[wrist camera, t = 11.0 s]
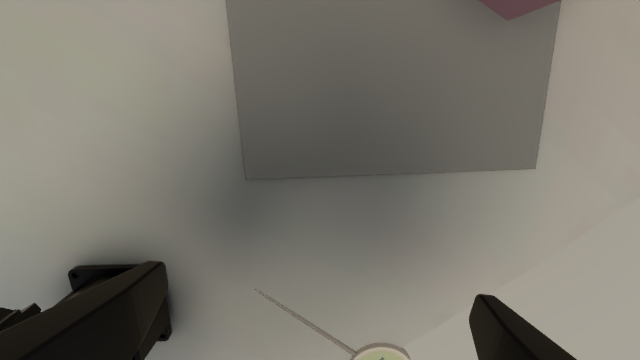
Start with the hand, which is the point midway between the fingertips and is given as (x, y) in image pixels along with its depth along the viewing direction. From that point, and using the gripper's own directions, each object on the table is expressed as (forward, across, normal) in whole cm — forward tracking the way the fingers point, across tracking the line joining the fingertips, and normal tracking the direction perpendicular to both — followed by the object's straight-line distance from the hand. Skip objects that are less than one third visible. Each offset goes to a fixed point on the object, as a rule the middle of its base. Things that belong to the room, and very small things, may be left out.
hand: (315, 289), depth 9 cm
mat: (+14, -3, -7) cm, 16 cm away
